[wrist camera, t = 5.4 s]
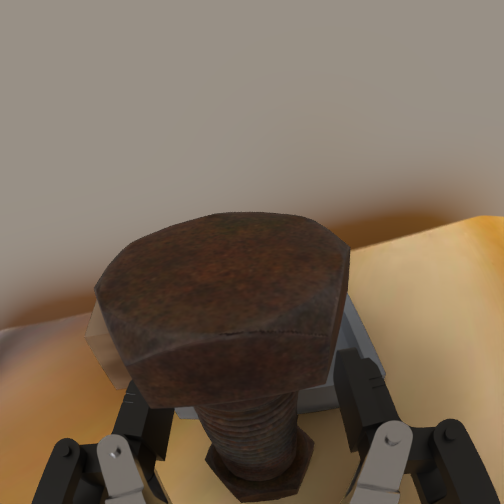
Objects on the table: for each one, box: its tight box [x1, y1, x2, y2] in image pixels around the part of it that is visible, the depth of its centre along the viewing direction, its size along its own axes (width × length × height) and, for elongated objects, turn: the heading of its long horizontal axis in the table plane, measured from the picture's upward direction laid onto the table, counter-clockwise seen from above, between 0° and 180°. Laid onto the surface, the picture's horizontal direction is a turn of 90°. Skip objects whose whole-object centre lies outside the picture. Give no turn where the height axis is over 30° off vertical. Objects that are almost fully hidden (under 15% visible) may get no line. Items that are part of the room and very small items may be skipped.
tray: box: [175, 293, 386, 419], centre depth 21 cm, size 14×12×3 cm
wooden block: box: [84, 300, 132, 389], centre depth 21 cm, size 6×6×6 cm
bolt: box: [94, 212, 350, 503], centre depth 9 cm, size 6×5×15 cm
